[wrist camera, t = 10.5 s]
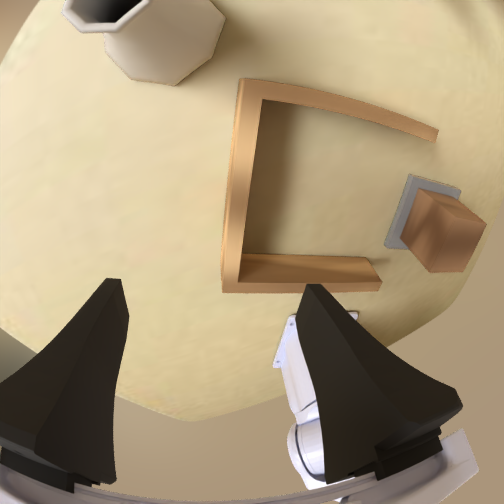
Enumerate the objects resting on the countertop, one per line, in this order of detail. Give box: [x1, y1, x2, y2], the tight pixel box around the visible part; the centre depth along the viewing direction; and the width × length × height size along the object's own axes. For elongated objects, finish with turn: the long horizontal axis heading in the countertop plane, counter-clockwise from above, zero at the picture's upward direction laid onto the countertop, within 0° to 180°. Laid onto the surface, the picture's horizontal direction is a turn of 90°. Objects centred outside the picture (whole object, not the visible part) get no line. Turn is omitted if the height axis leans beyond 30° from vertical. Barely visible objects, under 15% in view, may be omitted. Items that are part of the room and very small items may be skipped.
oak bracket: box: [220, 78, 439, 293], centre depth 18 cm, size 14×13×4 cm
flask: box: [61, 0, 226, 86], centre depth 8 cm, size 7×7×10 cm
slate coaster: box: [384, 174, 461, 249], centre depth 22 cm, size 7×7×1 cm
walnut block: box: [400, 188, 487, 273], centre depth 20 cm, size 5×5×5 cm
